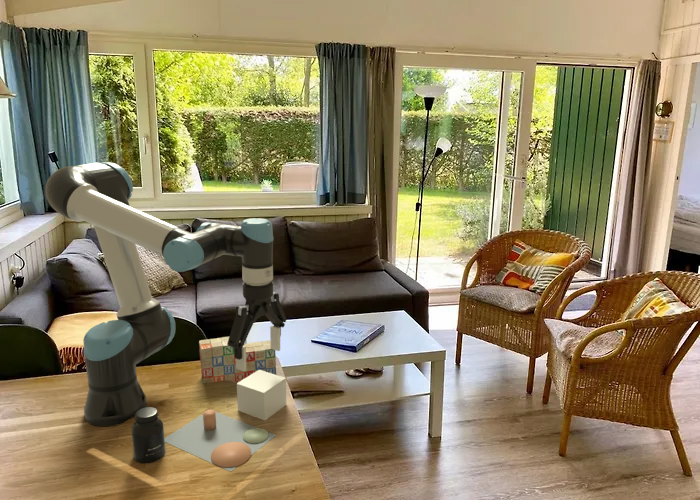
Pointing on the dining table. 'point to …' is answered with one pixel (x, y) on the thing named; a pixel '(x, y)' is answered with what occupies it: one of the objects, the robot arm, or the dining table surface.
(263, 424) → the dining table surface
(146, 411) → the supplement bottle
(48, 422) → the dining table surface
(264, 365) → the stack of blocks
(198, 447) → the board
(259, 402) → the plain off-white box
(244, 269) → the robot arm
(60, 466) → the dining table surface
